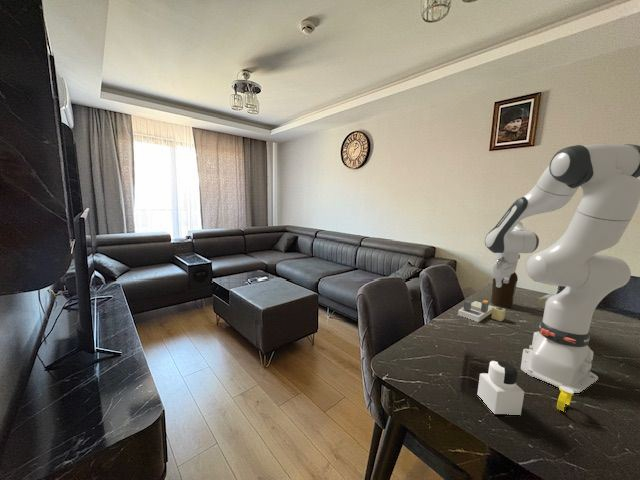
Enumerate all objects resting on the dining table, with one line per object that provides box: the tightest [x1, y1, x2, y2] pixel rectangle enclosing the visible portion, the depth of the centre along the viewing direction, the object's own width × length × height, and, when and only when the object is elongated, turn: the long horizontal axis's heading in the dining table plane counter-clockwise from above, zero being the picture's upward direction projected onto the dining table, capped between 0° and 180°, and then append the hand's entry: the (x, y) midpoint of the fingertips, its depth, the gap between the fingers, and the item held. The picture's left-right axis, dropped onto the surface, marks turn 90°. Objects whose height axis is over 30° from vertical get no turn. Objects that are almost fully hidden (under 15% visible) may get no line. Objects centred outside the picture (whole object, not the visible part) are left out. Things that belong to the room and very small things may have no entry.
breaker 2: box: [481, 299, 490, 312], centre depth 121 cm, size 3×2×5 cm, turn 128°
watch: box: [556, 386, 575, 413], centre depth 67 cm, size 6×3×6 cm, turn 122°
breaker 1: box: [463, 299, 473, 311], centre depth 123 cm, size 3×2×4 cm, turn 128°
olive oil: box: [490, 271, 519, 309], centre depth 136 cm, size 11×11×25 cm
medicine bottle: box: [476, 359, 525, 416], centre depth 67 cm, size 7×7×12 cm
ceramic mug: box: [537, 293, 555, 310], centre depth 131 cm, size 11×8×8 cm
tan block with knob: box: [490, 306, 506, 322], centre depth 120 cm, size 4×4×6 cm
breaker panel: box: [457, 300, 495, 323], centre depth 125 cm, size 20×9×3 cm, turn 128°
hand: (502, 285), depth 118 cm, fingers open, 8 cm apart
